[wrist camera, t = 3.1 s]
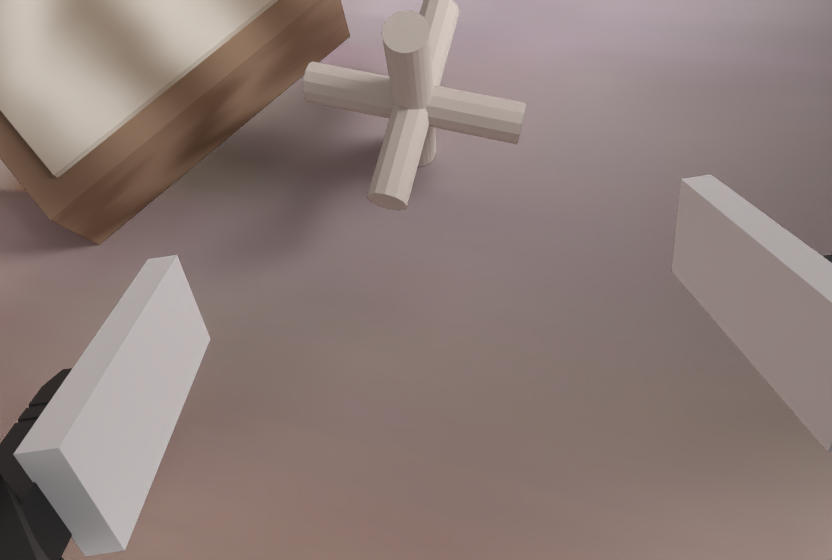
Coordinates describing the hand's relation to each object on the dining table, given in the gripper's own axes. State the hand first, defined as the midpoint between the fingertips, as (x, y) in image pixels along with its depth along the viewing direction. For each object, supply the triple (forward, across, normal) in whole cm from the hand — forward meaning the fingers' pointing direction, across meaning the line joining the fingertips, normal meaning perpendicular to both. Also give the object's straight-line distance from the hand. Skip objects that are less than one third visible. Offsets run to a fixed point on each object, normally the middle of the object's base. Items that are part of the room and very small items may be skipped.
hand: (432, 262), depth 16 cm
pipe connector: (+17, 0, -3) cm, 18 cm away
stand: (+24, -15, +4) cm, 29 cm away
